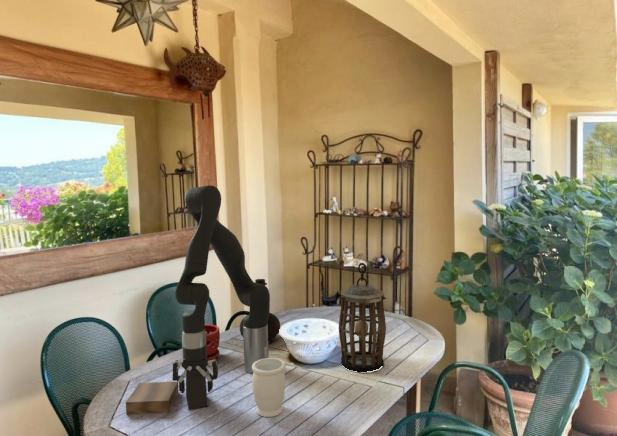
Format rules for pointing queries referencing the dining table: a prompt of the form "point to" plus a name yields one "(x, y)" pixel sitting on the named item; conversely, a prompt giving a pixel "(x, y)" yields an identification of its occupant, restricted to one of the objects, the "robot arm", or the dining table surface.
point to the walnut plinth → (152, 398)
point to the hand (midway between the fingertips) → (196, 391)
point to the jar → (268, 386)
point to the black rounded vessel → (272, 320)
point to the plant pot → (212, 341)
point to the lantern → (362, 326)
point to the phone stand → (196, 390)
